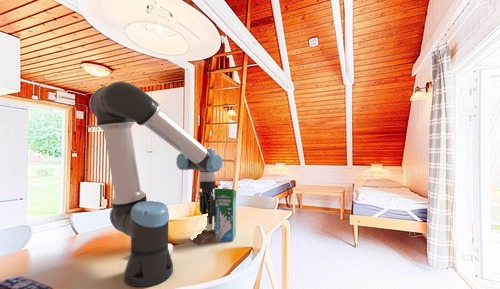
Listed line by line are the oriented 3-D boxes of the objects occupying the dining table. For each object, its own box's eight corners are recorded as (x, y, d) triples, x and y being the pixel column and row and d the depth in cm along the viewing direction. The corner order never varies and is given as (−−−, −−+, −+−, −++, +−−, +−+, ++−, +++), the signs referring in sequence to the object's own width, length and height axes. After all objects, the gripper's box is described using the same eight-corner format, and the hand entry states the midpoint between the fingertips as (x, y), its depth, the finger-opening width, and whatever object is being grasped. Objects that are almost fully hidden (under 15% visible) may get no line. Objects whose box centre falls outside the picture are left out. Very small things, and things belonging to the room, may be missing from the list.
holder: (198, 245, 109) (198, 239, 109) (188, 238, 117) (188, 232, 117) (224, 238, 118) (224, 232, 118) (214, 232, 125) (214, 227, 126)
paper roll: (168, 241, 95) (142, 237, 99) (161, 257, 91) (134, 252, 95) (174, 246, 100) (149, 243, 103) (168, 262, 96) (142, 257, 99)
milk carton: (235, 235, 123) (236, 185, 123) (232, 242, 114) (233, 189, 114) (218, 234, 124) (218, 185, 124) (213, 241, 115) (214, 188, 115)
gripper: (223, 181, 113) (223, 232, 113) (206, 177, 127) (205, 222, 126) (209, 183, 108) (208, 235, 108) (192, 178, 122) (192, 225, 122)
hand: (207, 228), depth 117 cm, fingers open, 4 cm apart
